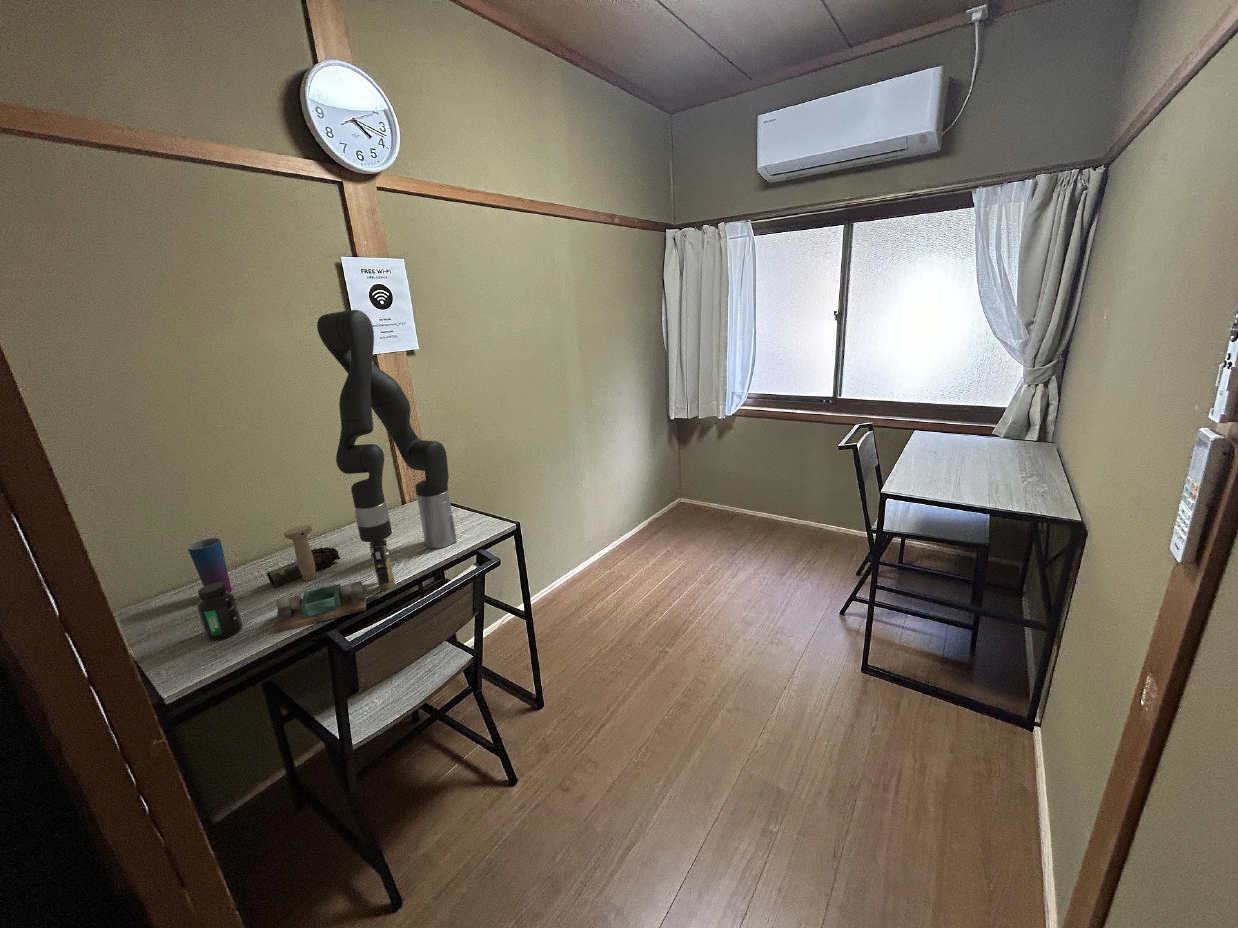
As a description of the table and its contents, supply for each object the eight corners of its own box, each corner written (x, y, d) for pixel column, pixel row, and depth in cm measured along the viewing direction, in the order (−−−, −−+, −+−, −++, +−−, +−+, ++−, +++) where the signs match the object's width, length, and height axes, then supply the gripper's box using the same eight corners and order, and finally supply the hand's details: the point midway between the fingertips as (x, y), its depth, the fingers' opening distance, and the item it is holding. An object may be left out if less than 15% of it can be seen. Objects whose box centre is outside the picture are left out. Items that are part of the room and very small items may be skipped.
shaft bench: (366, 587, 135) (363, 570, 133) (365, 610, 124) (361, 592, 123) (284, 606, 127) (279, 589, 126) (276, 632, 117) (270, 614, 116)
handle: (326, 575, 142) (314, 526, 138) (302, 585, 137) (289, 536, 132) (317, 571, 145) (305, 523, 140) (293, 581, 140) (280, 532, 135)
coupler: (396, 580, 138) (389, 547, 135) (396, 587, 134) (389, 554, 131) (377, 584, 136) (370, 551, 133) (377, 592, 132) (370, 558, 129)
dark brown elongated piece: (275, 589, 136) (270, 571, 134) (267, 582, 140) (262, 564, 139) (343, 563, 149) (339, 546, 147) (334, 557, 153) (330, 540, 151)
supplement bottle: (222, 643, 114) (206, 597, 110) (200, 639, 116) (184, 593, 112) (250, 625, 120) (236, 581, 117) (229, 621, 122) (215, 578, 118)
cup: (201, 603, 130) (183, 551, 126) (207, 591, 136) (191, 541, 132) (233, 596, 133) (217, 545, 129) (238, 584, 139) (222, 535, 135)
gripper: (389, 527, 124) (400, 586, 129) (388, 507, 137) (399, 562, 142) (355, 533, 121) (368, 593, 126) (358, 513, 134) (369, 568, 139)
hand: (384, 576), depth 134 cm, fingers open, 7 cm apart
